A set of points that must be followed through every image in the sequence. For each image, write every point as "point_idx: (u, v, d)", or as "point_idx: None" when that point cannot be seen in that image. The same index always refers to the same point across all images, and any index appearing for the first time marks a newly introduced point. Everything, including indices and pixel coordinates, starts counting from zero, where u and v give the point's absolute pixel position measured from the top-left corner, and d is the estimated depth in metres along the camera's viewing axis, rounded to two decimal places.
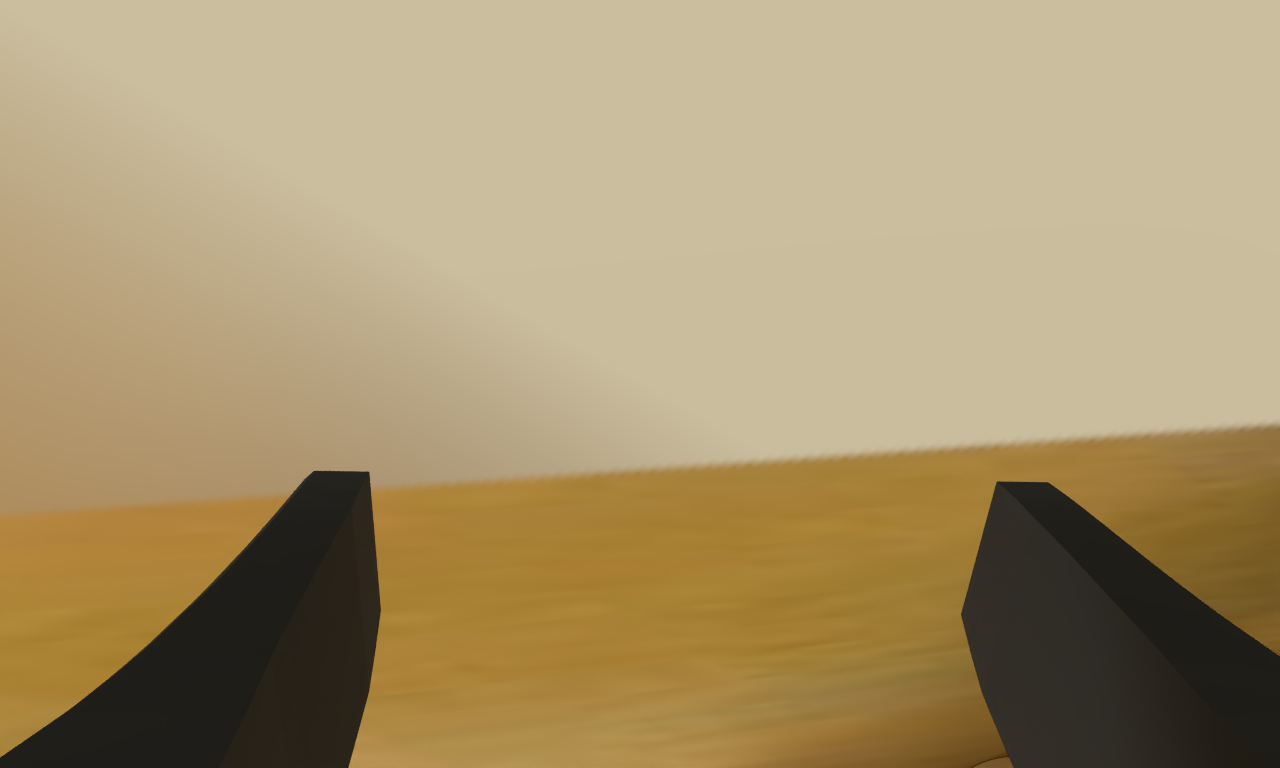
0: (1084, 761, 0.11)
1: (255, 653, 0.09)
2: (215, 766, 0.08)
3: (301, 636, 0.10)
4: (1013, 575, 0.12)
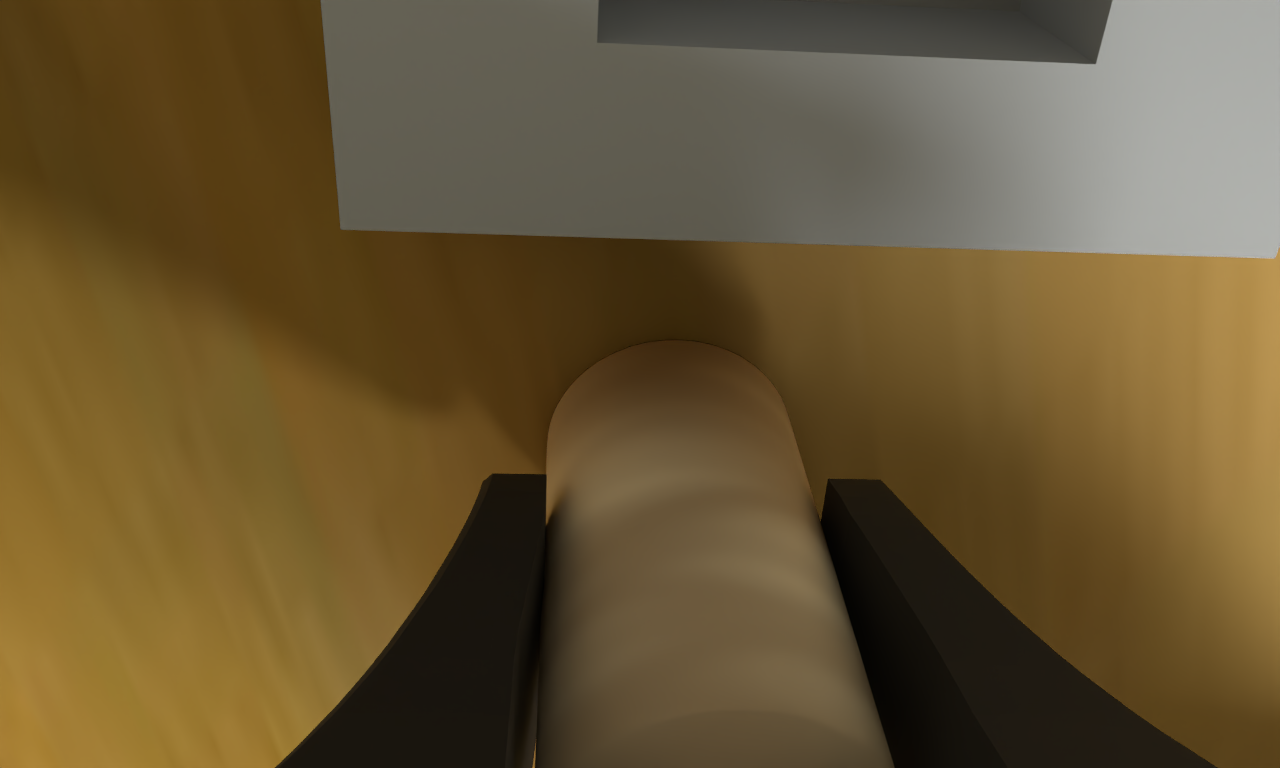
0: None
1: (497, 654, 0.09)
2: (502, 766, 0.08)
3: (523, 638, 0.10)
4: (838, 573, 0.12)
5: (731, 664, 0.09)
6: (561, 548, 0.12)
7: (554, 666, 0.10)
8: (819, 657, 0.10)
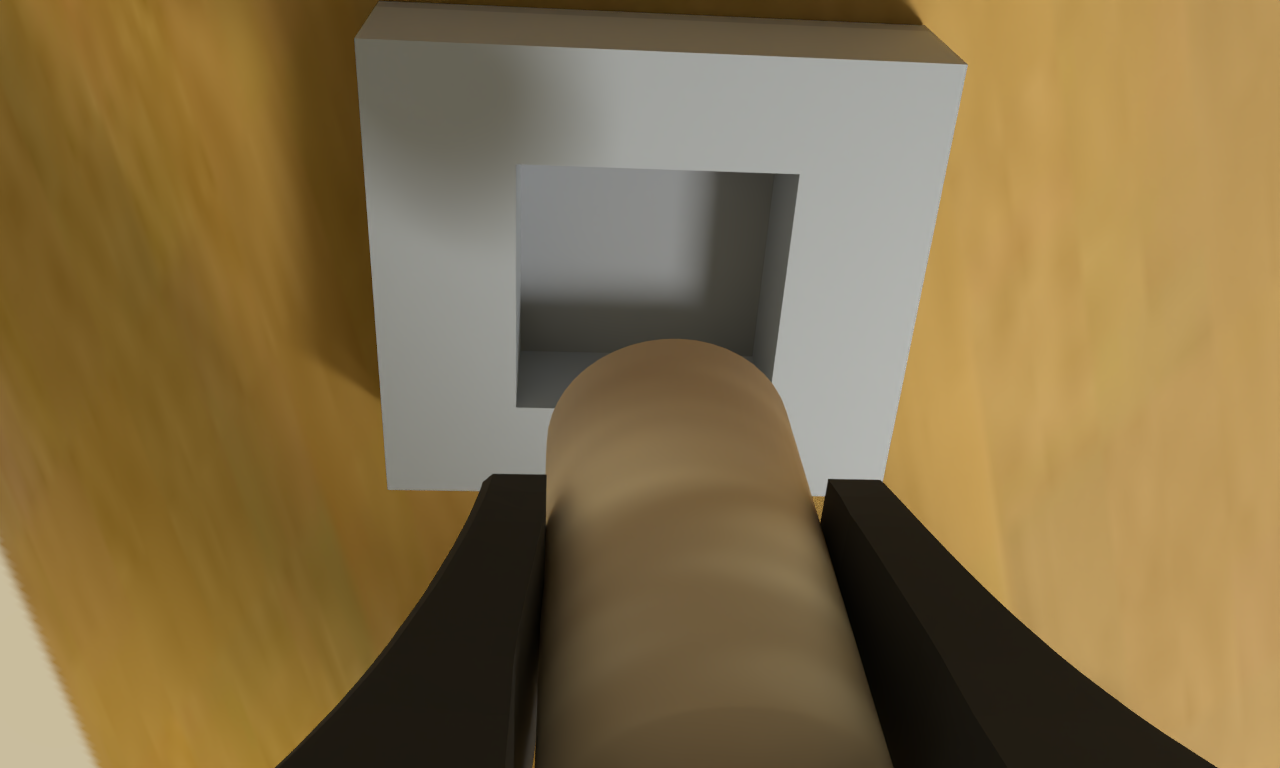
0: None
1: (497, 654, 0.09)
2: (502, 765, 0.08)
3: (523, 637, 0.10)
4: (838, 573, 0.12)
5: (733, 661, 0.09)
6: (562, 544, 0.12)
7: (555, 661, 0.10)
8: (819, 654, 0.10)
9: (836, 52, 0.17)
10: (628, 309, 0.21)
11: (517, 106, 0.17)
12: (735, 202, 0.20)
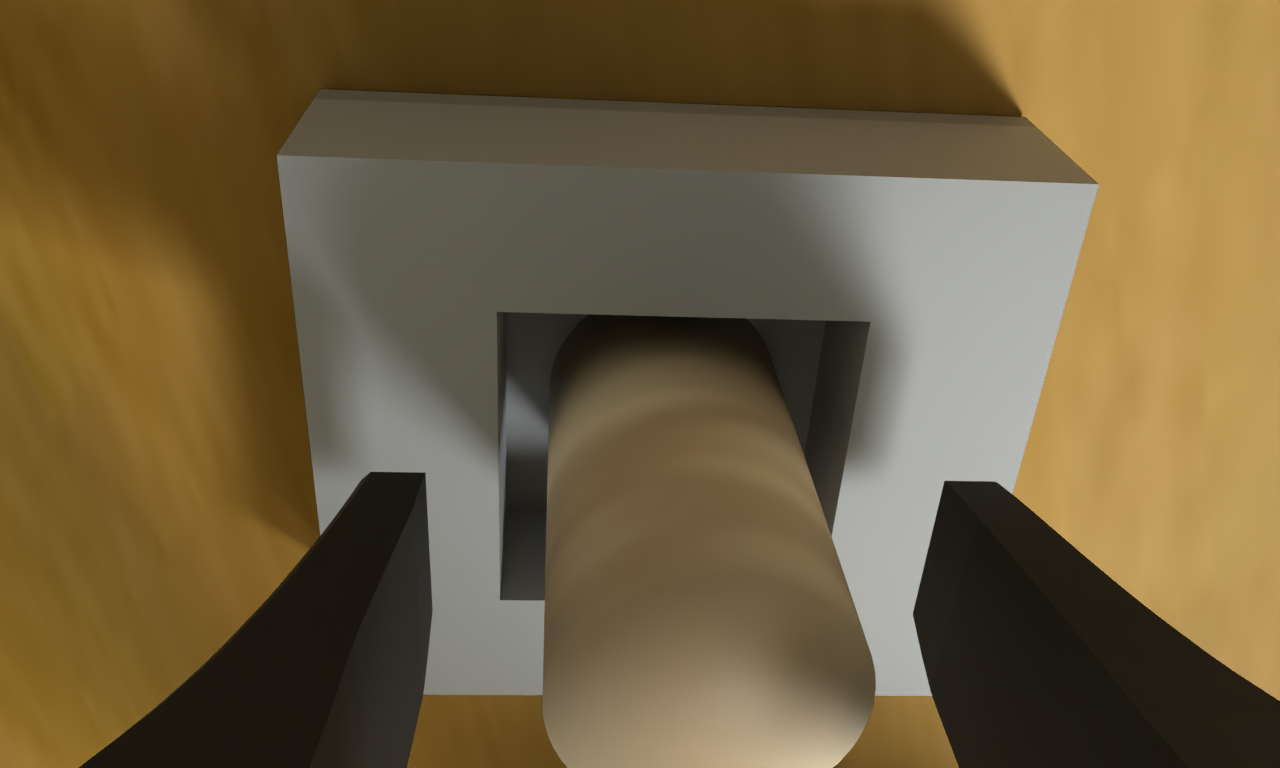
0: (1023, 761, 0.11)
1: (332, 654, 0.09)
2: (306, 766, 0.08)
3: (372, 637, 0.10)
4: (959, 575, 0.12)
5: (721, 538, 0.10)
6: (565, 461, 0.13)
7: (560, 553, 0.12)
8: (799, 538, 0.11)
9: (922, 166, 0.13)
10: None
11: (498, 240, 0.13)
12: (778, 335, 0.16)
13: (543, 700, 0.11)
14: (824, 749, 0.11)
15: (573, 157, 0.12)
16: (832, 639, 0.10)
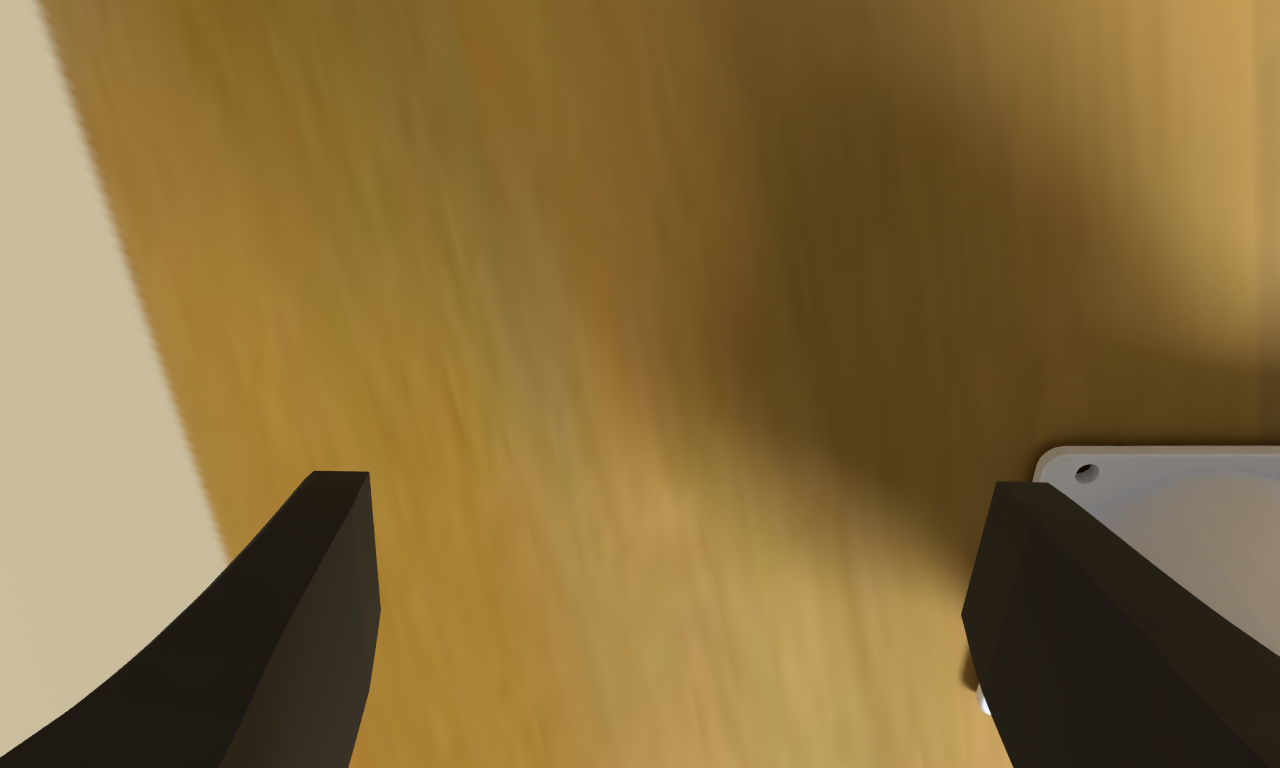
0: (1084, 761, 0.11)
1: (255, 653, 0.09)
2: (215, 766, 0.08)
3: (301, 636, 0.10)
4: (1013, 575, 0.12)
5: None
6: None
7: None
8: None
9: None
10: None
11: None
12: None
13: None
14: None
15: None
16: None
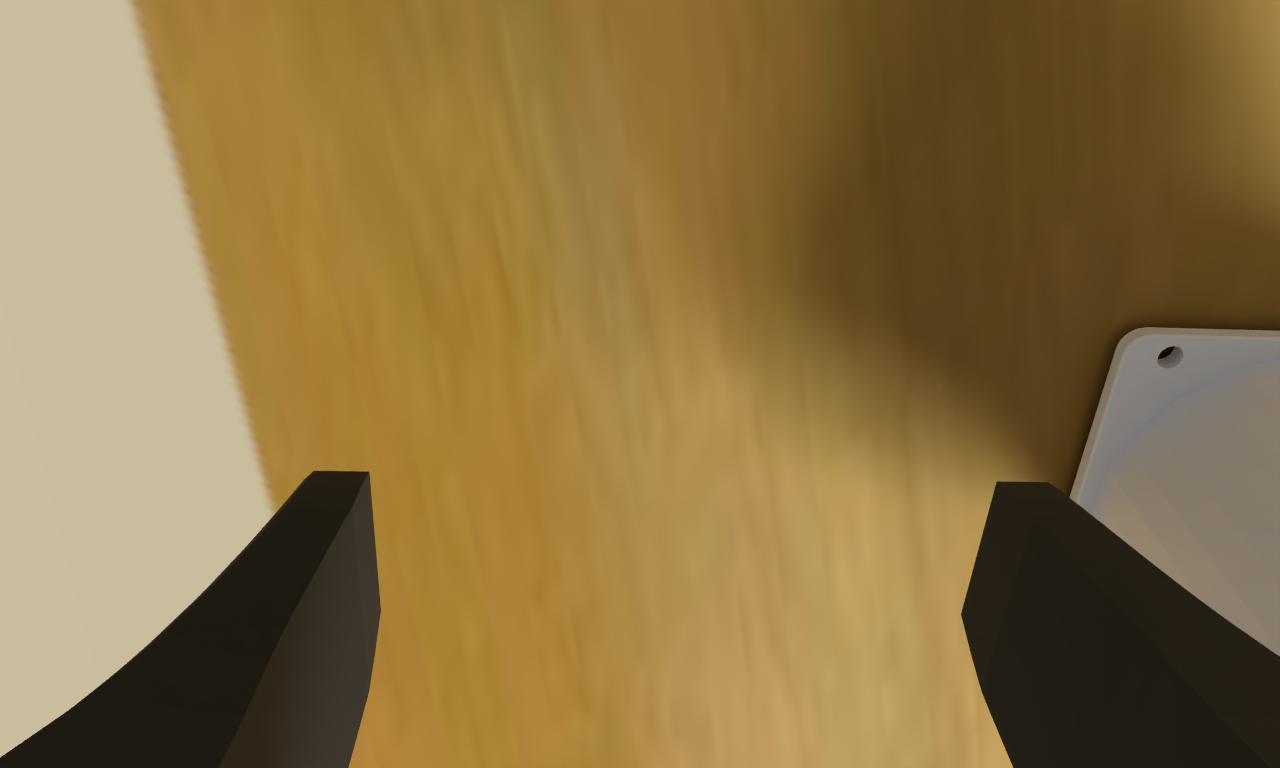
0: (1084, 761, 0.11)
1: (255, 653, 0.09)
2: (215, 766, 0.08)
3: (301, 636, 0.10)
4: (1013, 575, 0.12)
5: None
6: None
7: None
8: None
9: None
10: None
11: None
12: None
13: None
14: None
15: None
16: None
